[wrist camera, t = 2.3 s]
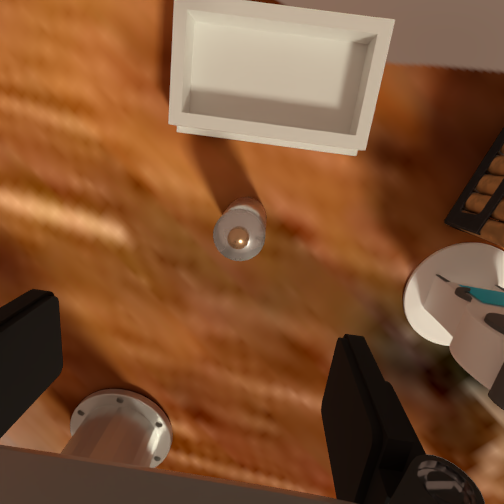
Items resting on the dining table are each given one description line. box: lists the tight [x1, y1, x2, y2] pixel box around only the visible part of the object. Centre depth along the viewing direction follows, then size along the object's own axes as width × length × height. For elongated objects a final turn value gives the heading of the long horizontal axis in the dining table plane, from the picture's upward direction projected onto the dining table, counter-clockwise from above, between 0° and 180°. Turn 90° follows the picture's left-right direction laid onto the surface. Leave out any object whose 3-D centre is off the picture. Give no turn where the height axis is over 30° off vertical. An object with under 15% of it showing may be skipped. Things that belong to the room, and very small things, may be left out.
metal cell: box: [213, 197, 267, 261], centre depth 28 cm, size 4×4×8 cm
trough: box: [168, 0, 395, 156], centre depth 26 cm, size 10×16×4 cm, turn 83°
